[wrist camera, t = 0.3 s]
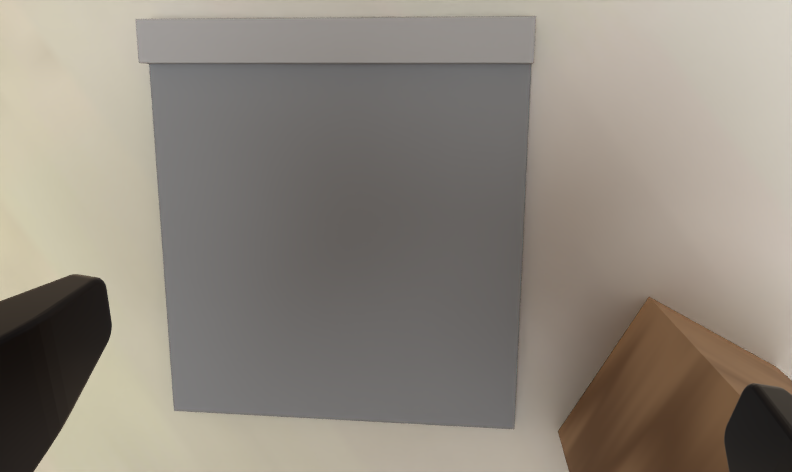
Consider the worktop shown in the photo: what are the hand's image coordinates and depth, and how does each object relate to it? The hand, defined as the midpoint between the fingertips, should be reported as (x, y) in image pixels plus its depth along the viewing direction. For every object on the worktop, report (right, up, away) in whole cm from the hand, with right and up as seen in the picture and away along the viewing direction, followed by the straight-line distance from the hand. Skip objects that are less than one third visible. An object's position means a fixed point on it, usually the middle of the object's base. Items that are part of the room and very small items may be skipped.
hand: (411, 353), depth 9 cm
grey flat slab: (-2, +1, +16) cm, 17 cm away
